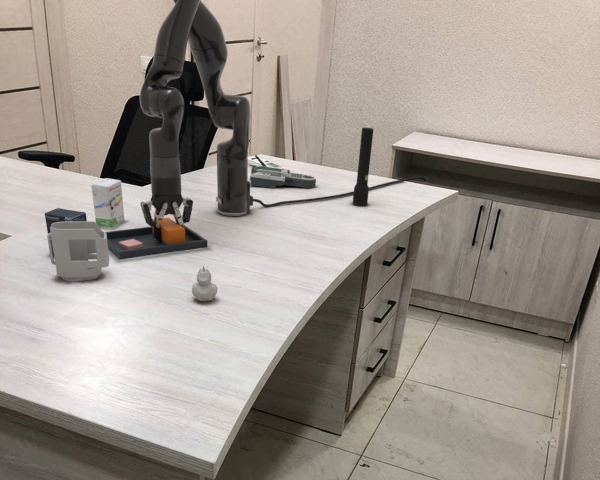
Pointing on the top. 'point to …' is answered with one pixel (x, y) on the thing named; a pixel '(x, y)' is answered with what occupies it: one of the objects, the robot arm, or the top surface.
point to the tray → (150, 242)
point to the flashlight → (363, 169)
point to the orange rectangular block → (171, 232)
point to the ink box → (108, 202)
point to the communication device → (278, 177)
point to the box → (63, 218)
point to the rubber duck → (204, 286)
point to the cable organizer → (78, 249)
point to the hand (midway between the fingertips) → (169, 239)
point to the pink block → (130, 244)
